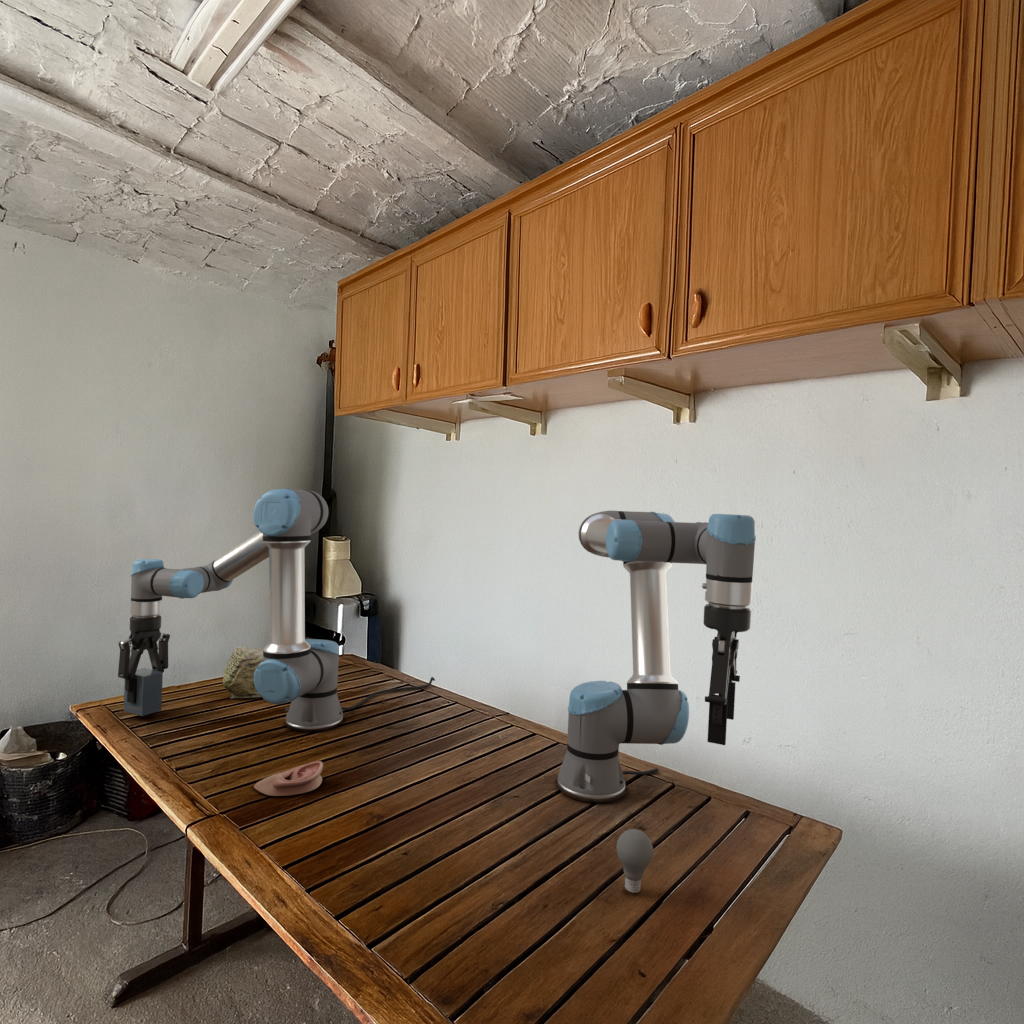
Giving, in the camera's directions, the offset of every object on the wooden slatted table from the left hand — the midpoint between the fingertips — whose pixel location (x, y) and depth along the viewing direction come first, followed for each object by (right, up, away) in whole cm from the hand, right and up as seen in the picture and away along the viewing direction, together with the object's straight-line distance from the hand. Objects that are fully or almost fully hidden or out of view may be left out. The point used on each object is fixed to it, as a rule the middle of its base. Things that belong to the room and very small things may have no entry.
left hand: (142, 698), depth 175 cm
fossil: (+21, -6, +23) cm, 32 cm away
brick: (0, -3, 0) cm, 3 cm away
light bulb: (+122, -12, -69) cm, 141 cm away
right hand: (+137, +15, -67) cm, 154 cm away
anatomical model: (+53, -8, -37) cm, 65 cm away
